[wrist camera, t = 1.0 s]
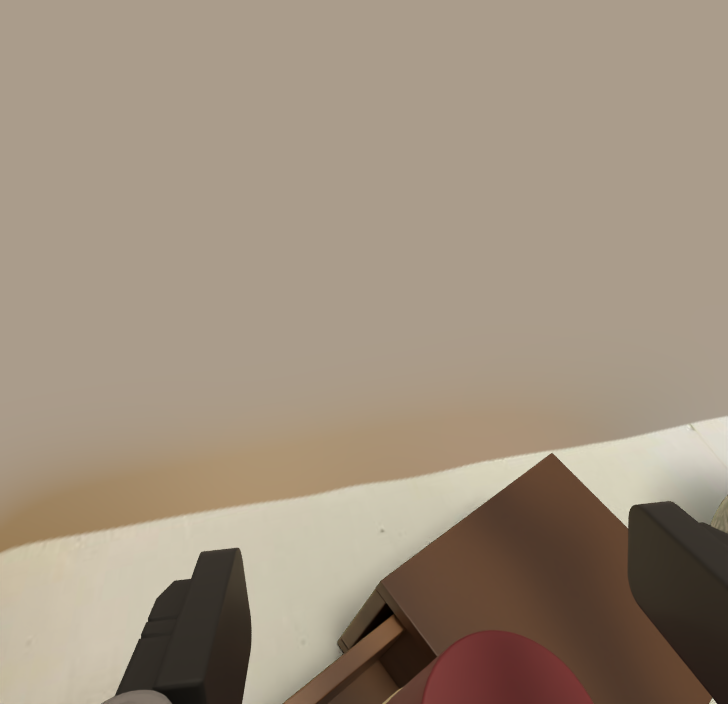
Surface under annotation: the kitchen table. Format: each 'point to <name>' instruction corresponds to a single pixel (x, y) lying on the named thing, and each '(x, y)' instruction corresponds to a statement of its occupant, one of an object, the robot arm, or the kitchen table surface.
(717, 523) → the planter
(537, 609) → the cabinet
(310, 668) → the kitchen table surface
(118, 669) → the kitchen table surface
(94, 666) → the kitchen table surface
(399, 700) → the tube
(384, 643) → the drawer
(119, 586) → the kitchen table surface
